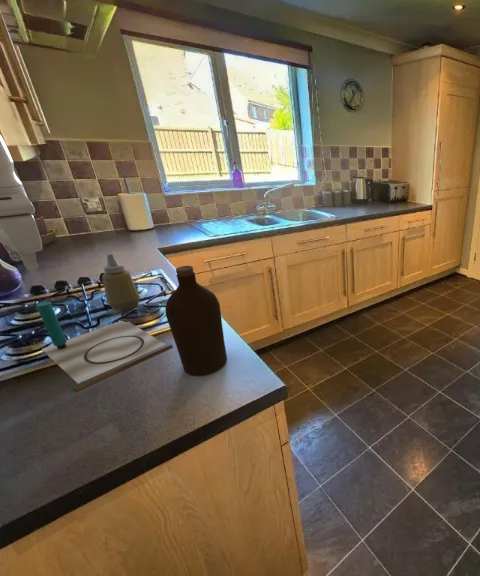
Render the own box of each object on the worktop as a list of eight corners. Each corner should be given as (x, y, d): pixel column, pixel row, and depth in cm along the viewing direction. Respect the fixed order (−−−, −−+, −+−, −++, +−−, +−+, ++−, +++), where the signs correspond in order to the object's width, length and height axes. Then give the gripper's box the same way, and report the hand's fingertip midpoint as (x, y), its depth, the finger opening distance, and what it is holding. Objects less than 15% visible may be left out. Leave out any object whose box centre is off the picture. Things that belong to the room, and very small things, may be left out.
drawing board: (36, 353, 81) (34, 349, 80) (128, 320, 96) (127, 316, 96) (75, 392, 69) (73, 387, 69) (173, 347, 85) (172, 343, 85)
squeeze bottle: (136, 300, 107) (120, 248, 100) (147, 308, 103) (131, 253, 96) (106, 309, 101) (87, 254, 94) (116, 317, 97) (97, 260, 90)
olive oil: (223, 376, 76) (203, 276, 66) (173, 380, 74) (144, 278, 64) (234, 349, 85) (218, 259, 75) (190, 352, 83) (167, 260, 73)
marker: (54, 348, 81) (34, 304, 76) (66, 343, 83) (48, 300, 78) (57, 351, 80) (38, 307, 75) (70, 346, 82) (51, 303, 77)
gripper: (-39, 196, 69) (-9, 258, 75) (-12, 209, 59) (20, 279, 65) (4, 193, 74) (29, 251, 80) (35, 205, 64) (61, 270, 70)
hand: (25, 264), depth 72 cm, fingers open, 8 cm apart
